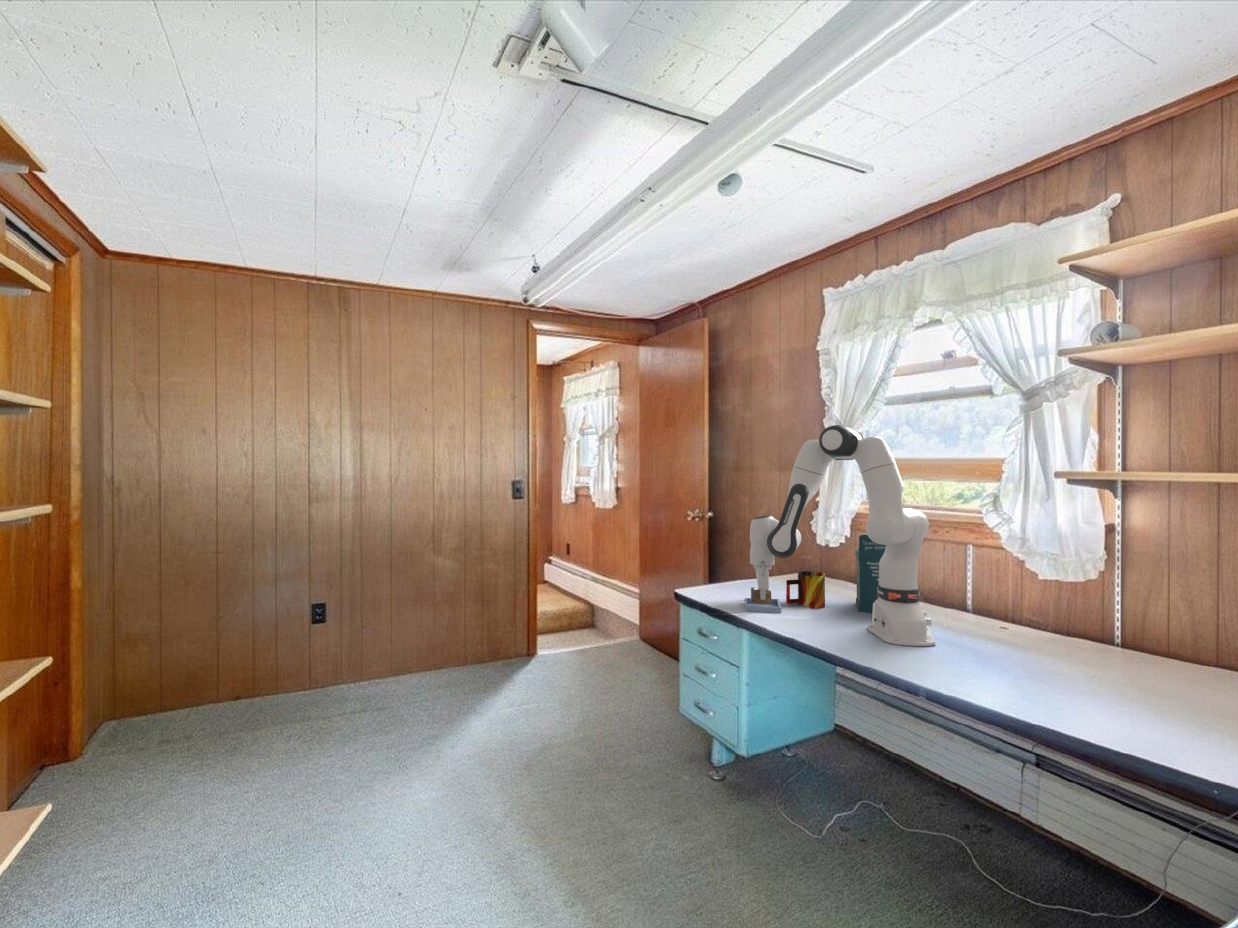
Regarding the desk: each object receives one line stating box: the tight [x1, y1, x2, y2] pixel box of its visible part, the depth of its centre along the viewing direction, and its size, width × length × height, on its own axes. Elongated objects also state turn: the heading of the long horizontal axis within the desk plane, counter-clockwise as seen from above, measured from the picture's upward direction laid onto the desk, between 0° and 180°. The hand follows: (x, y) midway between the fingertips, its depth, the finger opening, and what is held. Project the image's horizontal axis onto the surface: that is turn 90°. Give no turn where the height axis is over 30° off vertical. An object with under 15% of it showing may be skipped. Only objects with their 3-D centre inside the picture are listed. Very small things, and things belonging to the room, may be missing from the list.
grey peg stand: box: [743, 586, 757, 602], centre depth 224 cm, size 7×7×5 cm
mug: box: [785, 570, 826, 610], centre depth 217 cm, size 10×14×12 cm
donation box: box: [855, 534, 886, 614], centre depth 213 cm, size 16×16×28 cm
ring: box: [752, 588, 772, 604], centre depth 213 cm, size 6×7×4 cm
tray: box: [744, 597, 782, 614], centre depth 213 cm, size 12×12×2 cm
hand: (762, 596), depth 213 cm, fingers closed on ring, 6 cm apart
